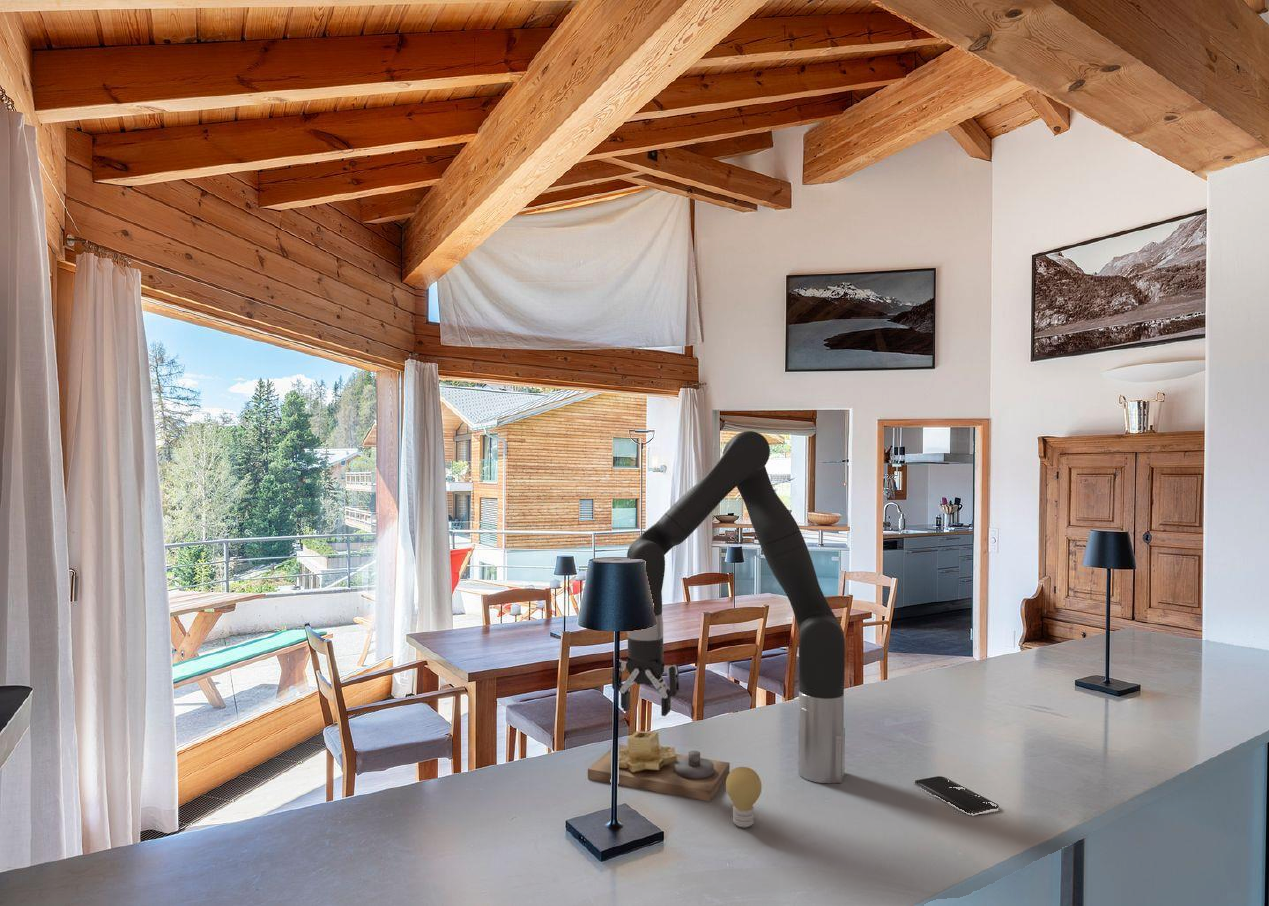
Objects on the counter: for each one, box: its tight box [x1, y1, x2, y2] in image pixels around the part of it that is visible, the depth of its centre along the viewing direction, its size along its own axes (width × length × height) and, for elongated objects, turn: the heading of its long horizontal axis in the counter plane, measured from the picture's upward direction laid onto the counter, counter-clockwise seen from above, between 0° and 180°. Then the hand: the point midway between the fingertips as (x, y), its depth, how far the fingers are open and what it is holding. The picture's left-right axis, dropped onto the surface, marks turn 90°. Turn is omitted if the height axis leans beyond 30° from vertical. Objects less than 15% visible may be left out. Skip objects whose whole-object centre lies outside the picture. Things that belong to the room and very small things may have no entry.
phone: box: [914, 775, 1000, 814], centre depth 144 cm, size 8×1×15 cm
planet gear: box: [618, 730, 677, 772], centre depth 153 cm, size 14×14×5 cm
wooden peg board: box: [587, 737, 731, 802], centre depth 152 cm, size 26×15×7 cm, turn 68°
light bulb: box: [725, 766, 762, 829], centre depth 131 cm, size 6×6×10 cm
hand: (645, 712), depth 153 cm, fingers open, 8 cm apart
